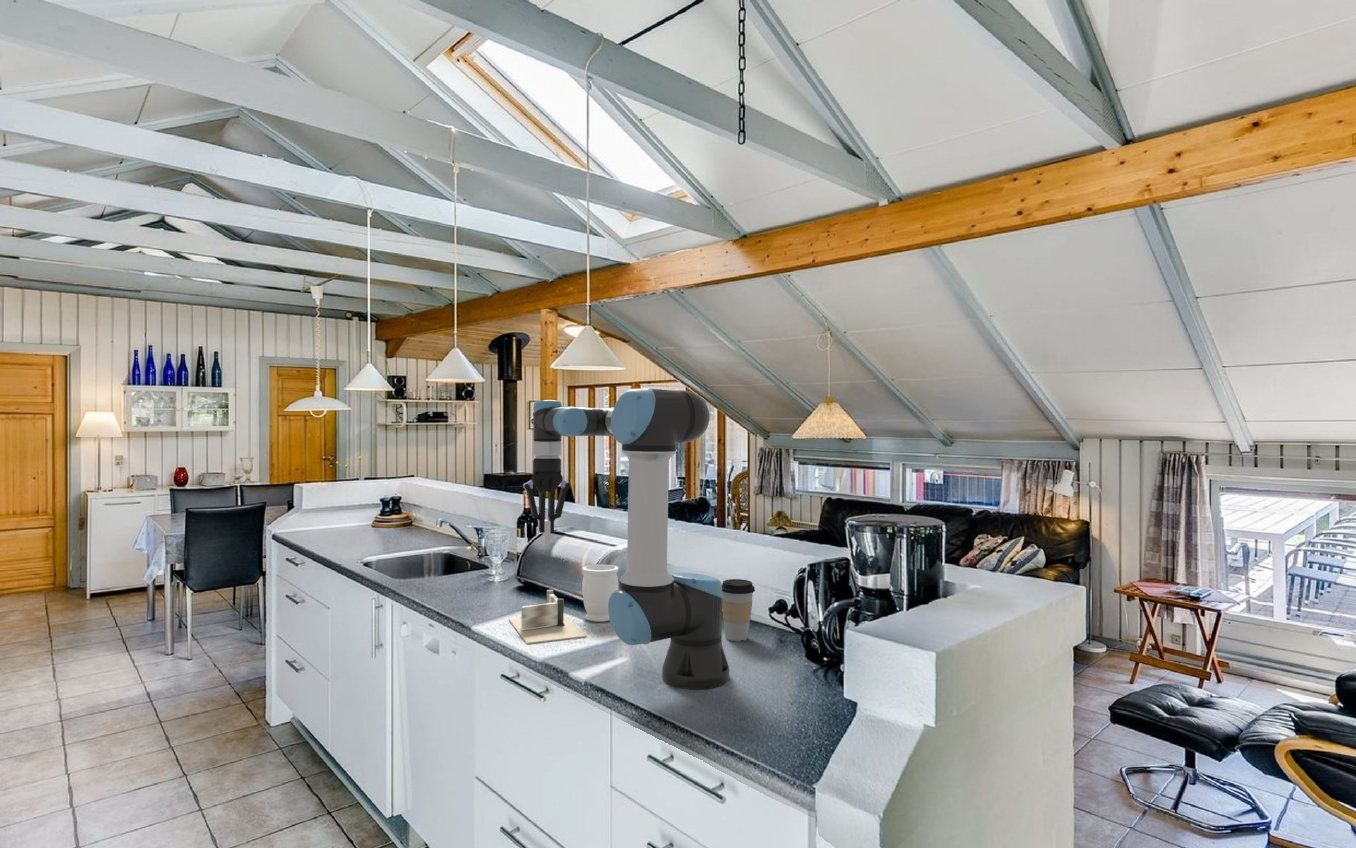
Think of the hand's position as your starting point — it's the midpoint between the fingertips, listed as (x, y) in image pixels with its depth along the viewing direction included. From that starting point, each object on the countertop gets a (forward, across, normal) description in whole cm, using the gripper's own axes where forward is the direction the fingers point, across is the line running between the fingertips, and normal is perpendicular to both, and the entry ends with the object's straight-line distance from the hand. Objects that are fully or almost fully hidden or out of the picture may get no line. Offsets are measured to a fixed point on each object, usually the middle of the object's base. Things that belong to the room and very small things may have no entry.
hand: (546, 544), depth 189 cm
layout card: (+24, -2, -6) cm, 25 cm away
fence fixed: (+24, -6, -11) cm, 27 cm away
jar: (+25, -19, -9) cm, 32 cm away
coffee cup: (+25, -46, +23) cm, 57 cm away
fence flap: (+23, -1, -5) cm, 24 cm away
